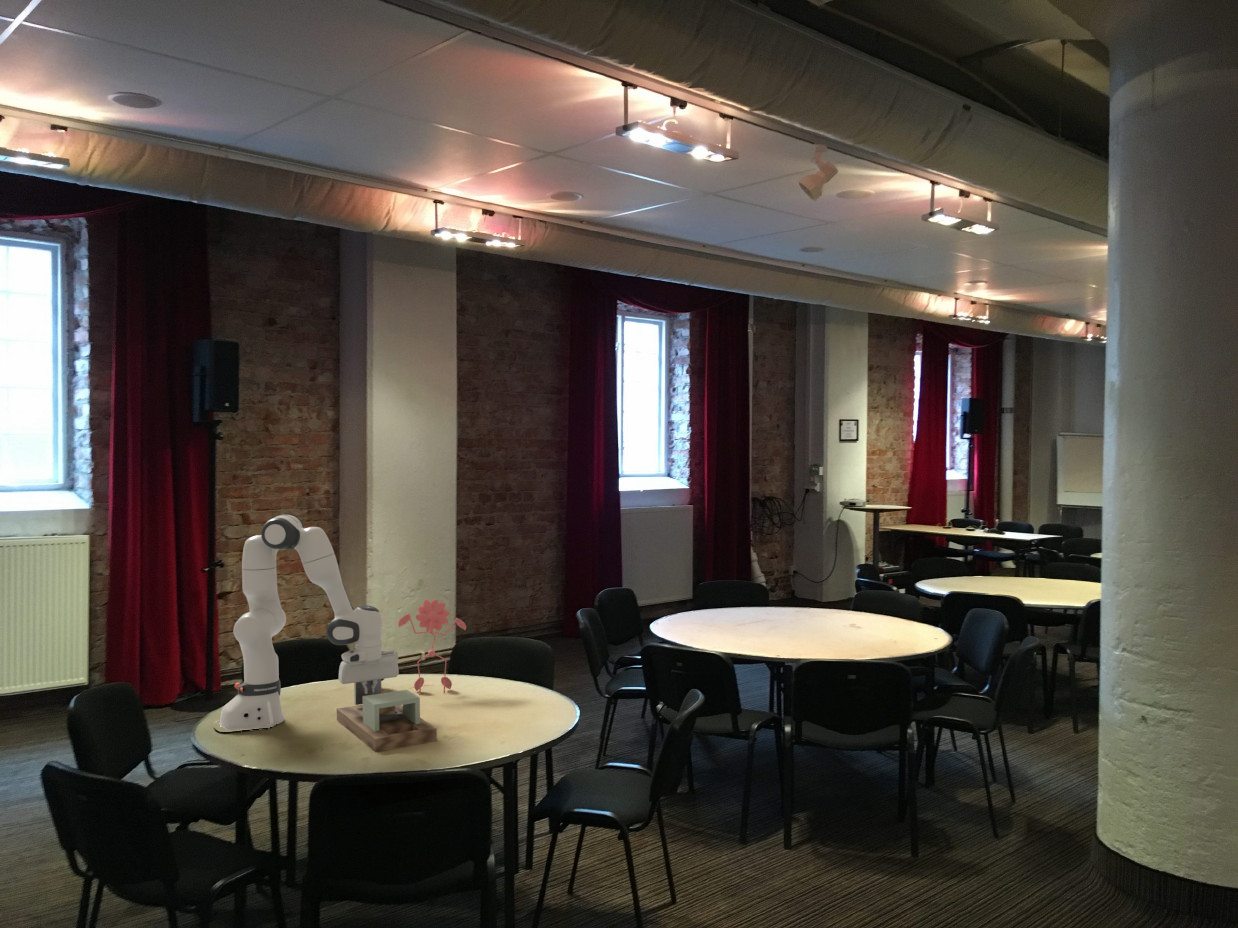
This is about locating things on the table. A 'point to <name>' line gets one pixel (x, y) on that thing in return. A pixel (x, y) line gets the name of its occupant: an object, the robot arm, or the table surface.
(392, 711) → the maple block
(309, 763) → the table surface
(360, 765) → the table surface
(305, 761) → the table surface
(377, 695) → the tunnel
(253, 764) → the table surface
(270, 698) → the robot arm
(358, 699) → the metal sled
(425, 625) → the pink flower toy
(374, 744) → the walnut deck
